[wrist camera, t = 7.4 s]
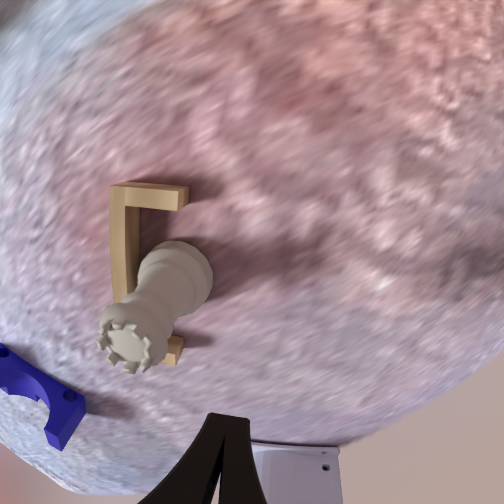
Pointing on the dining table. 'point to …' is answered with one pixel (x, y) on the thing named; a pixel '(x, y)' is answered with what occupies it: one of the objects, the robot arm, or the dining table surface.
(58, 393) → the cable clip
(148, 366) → the rook chess piece
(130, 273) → the wooden bracket
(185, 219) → the dining table surface
